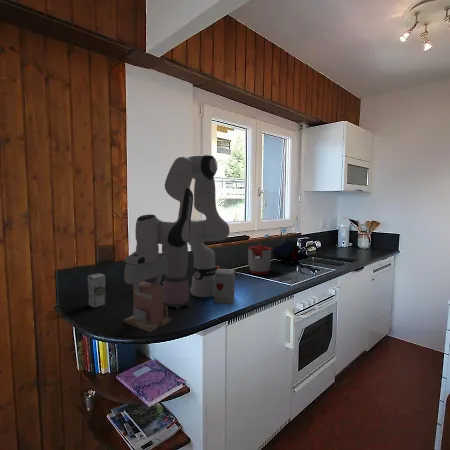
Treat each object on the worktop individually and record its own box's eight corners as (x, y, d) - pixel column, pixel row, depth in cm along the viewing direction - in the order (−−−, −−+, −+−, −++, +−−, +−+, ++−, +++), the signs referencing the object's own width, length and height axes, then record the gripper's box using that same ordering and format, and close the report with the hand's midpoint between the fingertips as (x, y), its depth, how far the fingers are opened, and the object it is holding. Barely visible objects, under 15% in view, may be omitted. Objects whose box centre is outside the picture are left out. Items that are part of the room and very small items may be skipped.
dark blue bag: (286, 272, 241) (318, 269, 218) (263, 263, 228) (295, 259, 204) (289, 247, 248) (320, 242, 225) (267, 237, 235) (297, 231, 212)
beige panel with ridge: (147, 313, 132) (147, 298, 131) (172, 321, 123) (172, 306, 123) (124, 322, 122) (123, 307, 121) (149, 332, 114) (149, 315, 113)
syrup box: (99, 302, 145) (98, 272, 144) (106, 305, 141) (105, 274, 140) (88, 305, 141) (87, 274, 139) (94, 308, 137) (93, 277, 135)
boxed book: (143, 313, 128) (142, 281, 127) (163, 319, 121) (163, 286, 120) (133, 317, 124) (133, 283, 122) (154, 324, 117) (153, 289, 116)
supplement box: (214, 303, 145) (214, 272, 143) (217, 297, 154) (217, 268, 152) (232, 304, 144) (233, 273, 142) (234, 298, 152) (235, 269, 151)
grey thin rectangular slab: (135, 319, 122) (135, 307, 121) (147, 323, 118) (147, 311, 117) (133, 320, 121) (133, 308, 120) (145, 324, 117) (144, 312, 116)
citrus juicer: (244, 275, 196) (245, 245, 194) (250, 269, 212) (250, 241, 210) (268, 277, 191) (269, 246, 189) (272, 271, 208) (273, 242, 206)
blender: (194, 304, 143) (194, 237, 140) (175, 311, 134) (174, 240, 130) (172, 297, 153) (172, 234, 150) (153, 303, 144) (152, 237, 140)
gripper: (161, 250, 130) (161, 281, 132) (121, 259, 114) (122, 294, 115) (171, 252, 127) (172, 284, 128) (132, 261, 110) (133, 298, 112)
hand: (148, 289), depth 122 cm, fingers open, 8 cm apart
